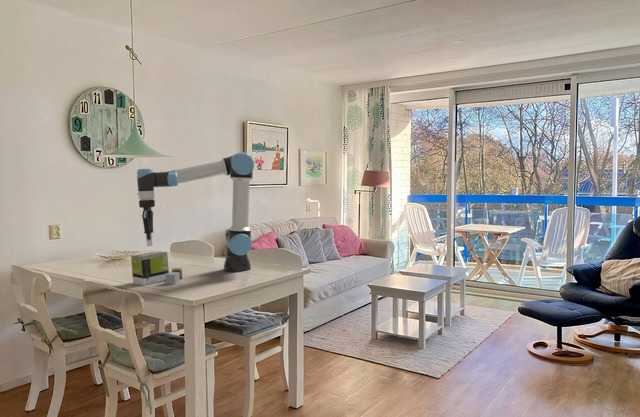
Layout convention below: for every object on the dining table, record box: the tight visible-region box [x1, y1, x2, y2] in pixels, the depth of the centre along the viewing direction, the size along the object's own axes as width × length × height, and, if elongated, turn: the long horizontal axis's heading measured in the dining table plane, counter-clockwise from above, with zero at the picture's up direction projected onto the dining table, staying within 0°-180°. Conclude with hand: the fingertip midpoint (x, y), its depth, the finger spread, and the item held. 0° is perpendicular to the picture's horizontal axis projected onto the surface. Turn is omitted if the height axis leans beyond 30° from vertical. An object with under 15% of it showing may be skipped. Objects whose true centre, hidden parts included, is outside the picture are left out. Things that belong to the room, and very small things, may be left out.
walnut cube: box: [171, 267, 183, 280], centre depth 254 cm, size 5×5×5 cm
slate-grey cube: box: [165, 271, 181, 285], centre depth 243 cm, size 5×5×5 cm
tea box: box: [130, 250, 170, 286], centre depth 248 cm, size 15×10×15 cm
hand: (149, 245), depth 247 cm, fingers closed
